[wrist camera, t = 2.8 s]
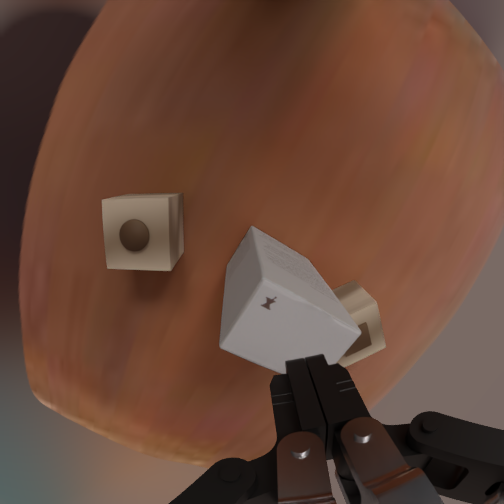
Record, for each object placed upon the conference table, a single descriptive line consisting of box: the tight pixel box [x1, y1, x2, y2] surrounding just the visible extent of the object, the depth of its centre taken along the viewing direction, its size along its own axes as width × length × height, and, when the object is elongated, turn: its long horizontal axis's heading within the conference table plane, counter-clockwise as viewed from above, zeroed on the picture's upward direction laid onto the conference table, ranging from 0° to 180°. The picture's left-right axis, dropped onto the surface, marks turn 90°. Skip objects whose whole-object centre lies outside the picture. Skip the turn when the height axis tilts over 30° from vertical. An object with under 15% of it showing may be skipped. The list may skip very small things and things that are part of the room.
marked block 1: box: [102, 193, 184, 271], centre depth 20 cm, size 5×5×5 cm
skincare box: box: [219, 226, 361, 374], centre depth 18 cm, size 6×4×12 cm
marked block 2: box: [332, 280, 386, 367], centre depth 23 cm, size 5×5×5 cm
